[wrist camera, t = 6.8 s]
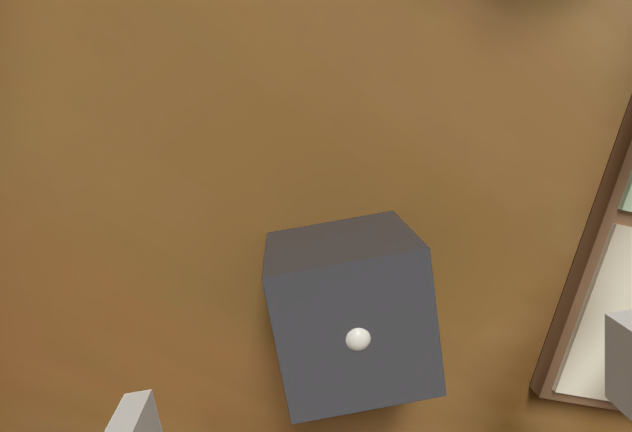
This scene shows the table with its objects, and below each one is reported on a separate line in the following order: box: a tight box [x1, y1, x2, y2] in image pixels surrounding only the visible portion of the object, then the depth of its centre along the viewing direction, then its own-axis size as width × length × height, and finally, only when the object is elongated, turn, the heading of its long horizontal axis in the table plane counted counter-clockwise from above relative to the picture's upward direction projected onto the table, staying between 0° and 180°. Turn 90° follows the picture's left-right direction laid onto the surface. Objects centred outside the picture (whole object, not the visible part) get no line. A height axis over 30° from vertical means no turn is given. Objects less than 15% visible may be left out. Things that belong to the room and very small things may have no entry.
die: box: [262, 211, 446, 424], centre depth 21 cm, size 6×6×6 cm
